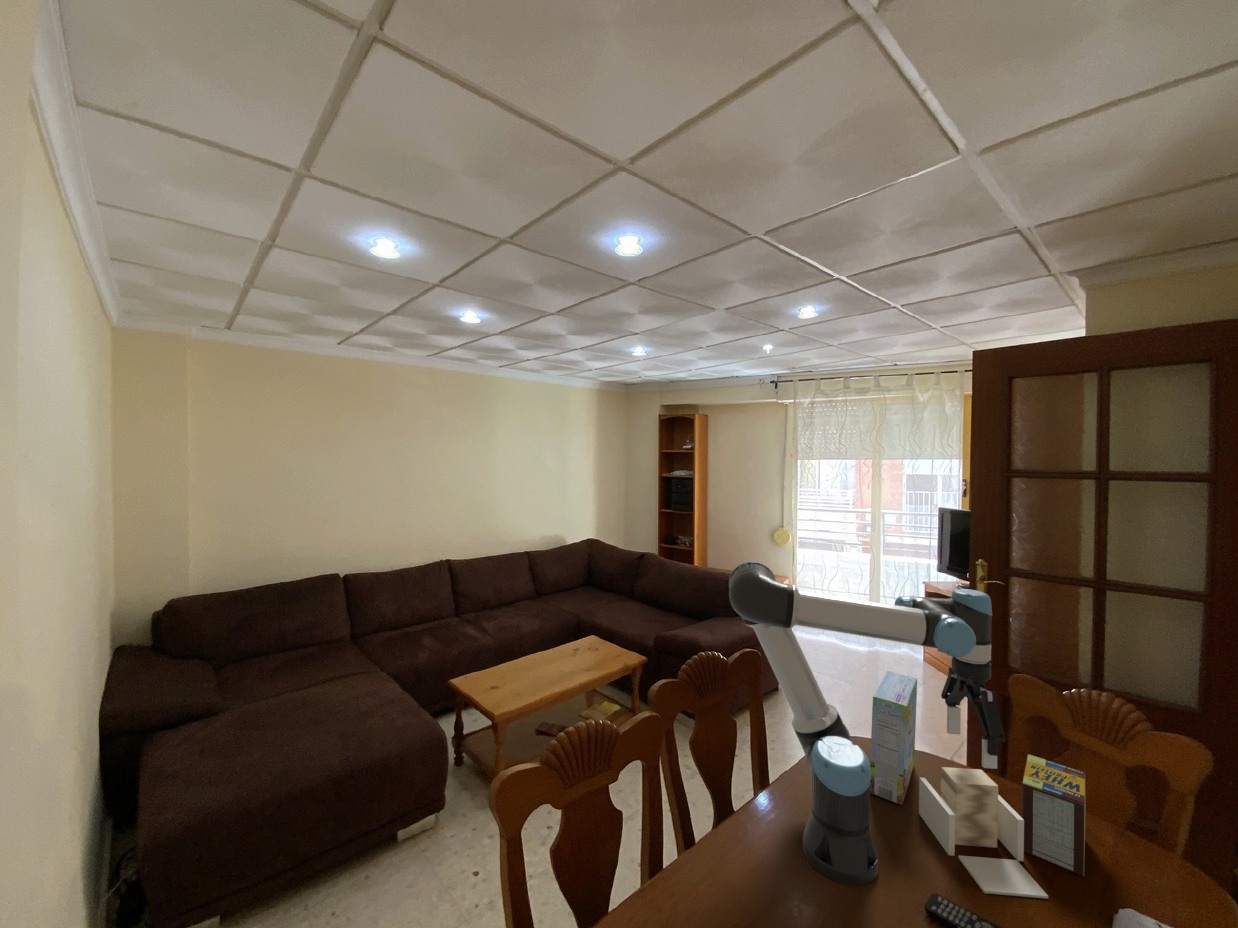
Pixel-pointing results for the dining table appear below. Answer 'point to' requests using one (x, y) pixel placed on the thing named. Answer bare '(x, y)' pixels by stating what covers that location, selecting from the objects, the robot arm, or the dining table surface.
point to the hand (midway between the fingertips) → (970, 749)
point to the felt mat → (1002, 877)
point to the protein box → (1054, 813)
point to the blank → (971, 805)
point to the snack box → (893, 736)
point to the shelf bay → (944, 821)
